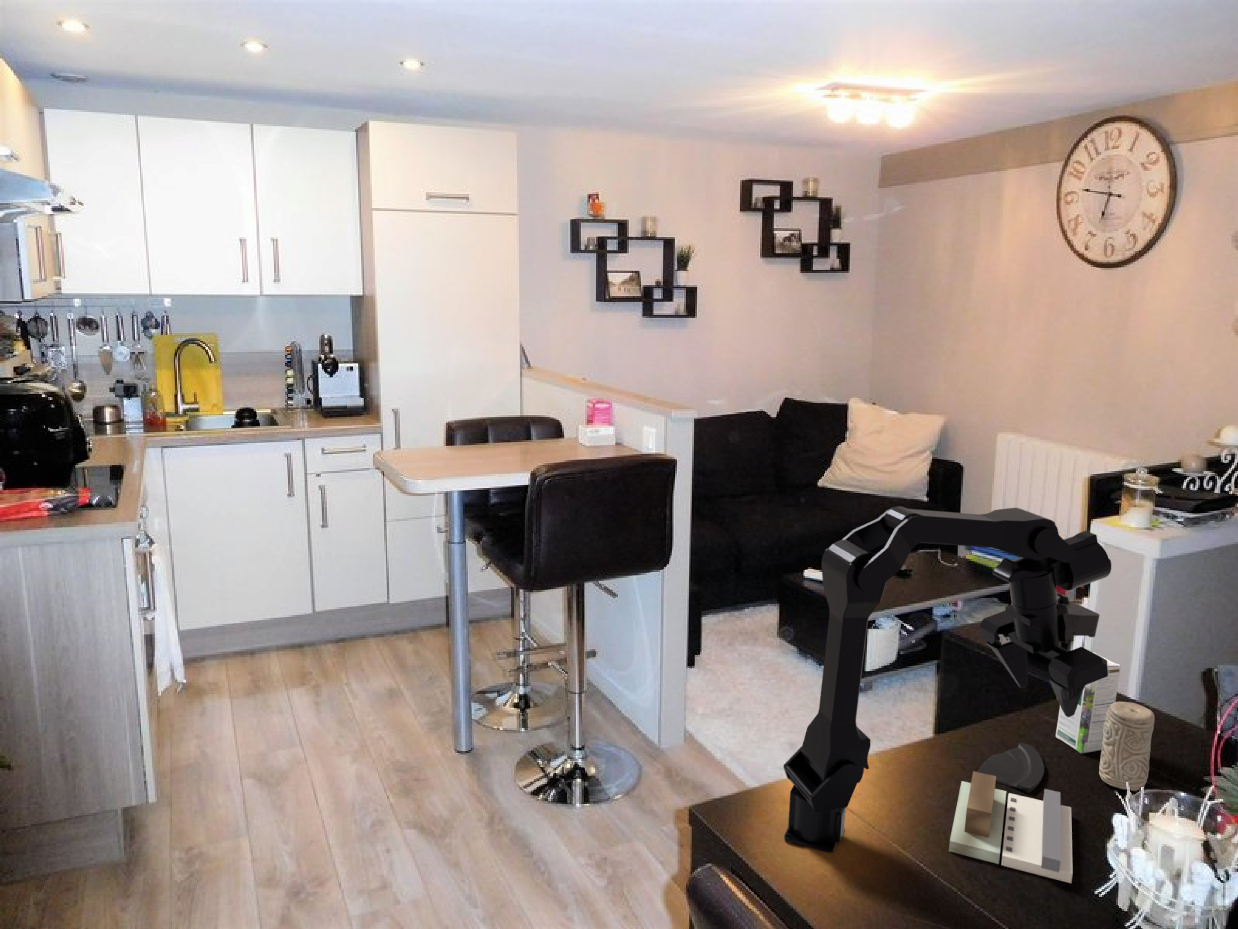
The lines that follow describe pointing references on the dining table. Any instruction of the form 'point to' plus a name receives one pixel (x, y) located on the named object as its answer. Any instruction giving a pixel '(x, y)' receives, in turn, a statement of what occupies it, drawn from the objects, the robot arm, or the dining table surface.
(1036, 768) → the curved wedge
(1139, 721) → the carving
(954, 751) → the dining table surface
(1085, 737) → the syrup box
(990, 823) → the green base with block
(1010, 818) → the notched base stand
